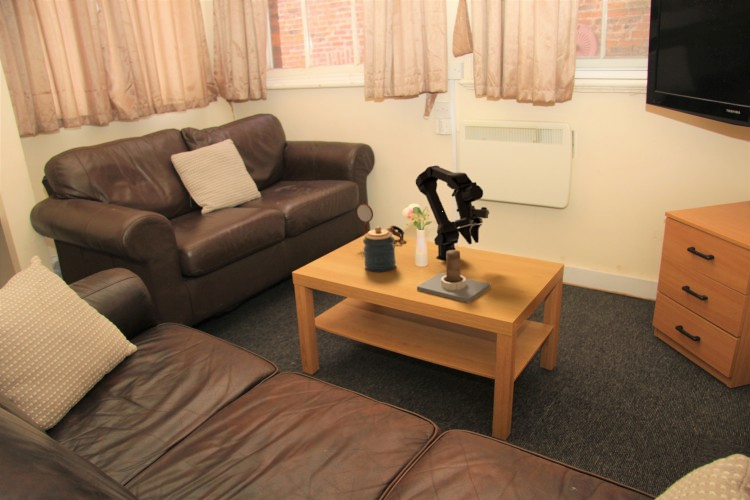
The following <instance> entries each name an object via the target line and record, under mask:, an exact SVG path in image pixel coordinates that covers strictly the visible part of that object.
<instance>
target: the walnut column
mask: <svg viewBox="0 0 750 500" xmlns="http://www.w3.org/2000/svg"><path fill="white" fill-rule="evenodd" d="M445 262H446V269H445V270H446V274H447V282H450V283H456V282H460V275H461V252H460V250H458V249H457V250H456V249H455V250H449V251H447V252H446V260H445Z"/></svg>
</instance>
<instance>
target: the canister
mask: <svg viewBox="0 0 750 500" xmlns="http://www.w3.org/2000/svg"><path fill="white" fill-rule="evenodd" d="M365 237H366V238H365ZM362 242H363V245H364V247H363V252H364V253H363V255H364V267H365V269H366V270H368V271H370V272H373V273H374V272H375V273H381V272H387V271H391V270H393V269H395V267H396V261H397V260H396V254H395V253H396V252H395V249H396V248H395V247H396V246H395V244H394V242H395V238H394V237H393V234H392V233H391V232H389V231H388V230H387V228H385V229H384V228H382V227H381V226H379V225H378V226H375V227H374V229H371V230H369V231H367V233H366V234H365V233H364V238H363V239H362Z"/></svg>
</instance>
